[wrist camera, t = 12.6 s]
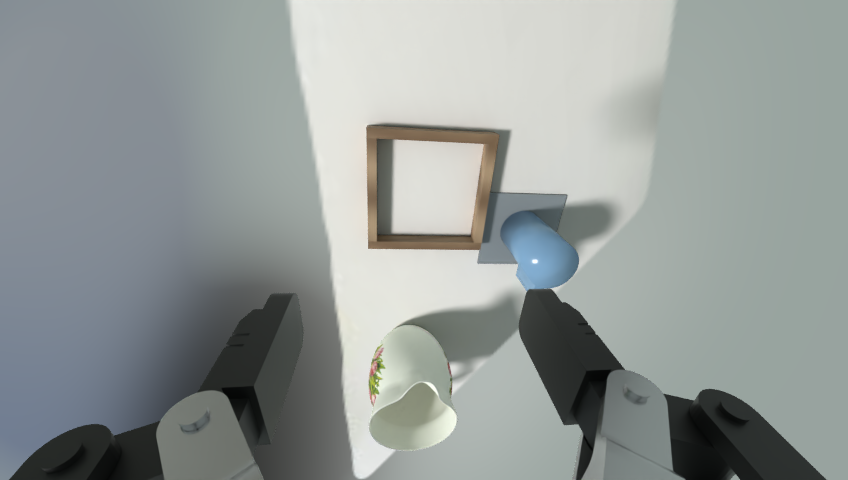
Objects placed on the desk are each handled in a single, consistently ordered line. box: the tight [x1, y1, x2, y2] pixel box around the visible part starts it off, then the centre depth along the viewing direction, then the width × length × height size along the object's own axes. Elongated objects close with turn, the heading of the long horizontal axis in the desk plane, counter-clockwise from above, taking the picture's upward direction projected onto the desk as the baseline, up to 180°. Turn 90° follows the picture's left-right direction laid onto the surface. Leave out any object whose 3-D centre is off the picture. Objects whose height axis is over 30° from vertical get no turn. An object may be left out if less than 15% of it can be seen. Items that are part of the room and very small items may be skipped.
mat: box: [477, 192, 567, 264], centre depth 41 cm, size 10×10×1 cm
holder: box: [366, 125, 499, 250], centre depth 37 cm, size 14×14×2 cm
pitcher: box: [369, 325, 457, 451], centre depth 43 cm, size 11×18×14 cm, turn 171°
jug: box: [500, 211, 579, 291], centre depth 38 cm, size 8×6×9 cm
